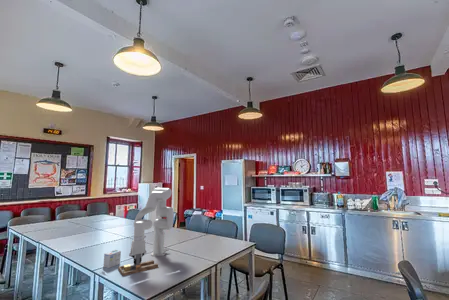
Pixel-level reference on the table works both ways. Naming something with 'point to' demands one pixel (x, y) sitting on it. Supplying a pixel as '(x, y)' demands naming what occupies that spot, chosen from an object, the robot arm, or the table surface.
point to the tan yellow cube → (126, 268)
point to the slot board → (143, 267)
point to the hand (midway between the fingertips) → (137, 263)
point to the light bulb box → (112, 258)
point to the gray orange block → (137, 261)
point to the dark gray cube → (132, 267)
